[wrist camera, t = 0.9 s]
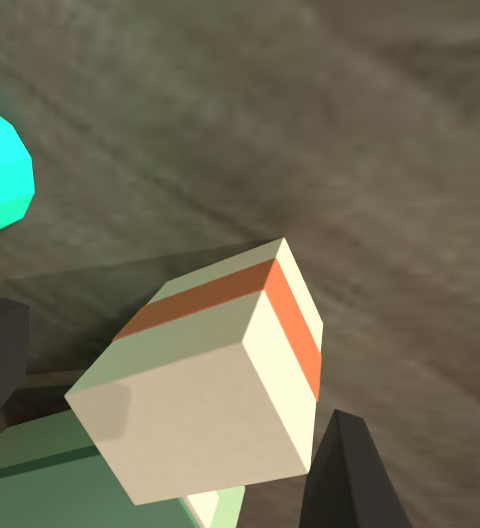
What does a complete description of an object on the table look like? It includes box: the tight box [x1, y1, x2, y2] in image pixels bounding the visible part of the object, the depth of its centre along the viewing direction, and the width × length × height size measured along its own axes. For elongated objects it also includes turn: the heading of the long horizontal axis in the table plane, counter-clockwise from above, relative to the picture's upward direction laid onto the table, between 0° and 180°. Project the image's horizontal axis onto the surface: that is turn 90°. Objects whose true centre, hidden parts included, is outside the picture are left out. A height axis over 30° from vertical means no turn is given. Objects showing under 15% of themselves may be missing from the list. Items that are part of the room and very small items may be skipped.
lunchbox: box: [0, 409, 245, 528], centre depth 24 cm, size 8×14×5 cm, turn 115°
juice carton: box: [64, 237, 323, 505], centre depth 17 cm, size 4×6×8 cm
